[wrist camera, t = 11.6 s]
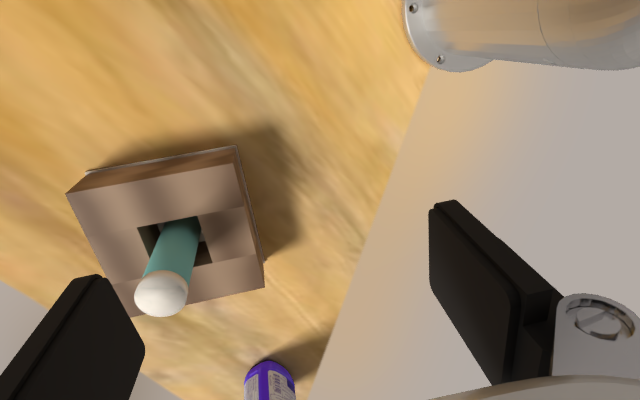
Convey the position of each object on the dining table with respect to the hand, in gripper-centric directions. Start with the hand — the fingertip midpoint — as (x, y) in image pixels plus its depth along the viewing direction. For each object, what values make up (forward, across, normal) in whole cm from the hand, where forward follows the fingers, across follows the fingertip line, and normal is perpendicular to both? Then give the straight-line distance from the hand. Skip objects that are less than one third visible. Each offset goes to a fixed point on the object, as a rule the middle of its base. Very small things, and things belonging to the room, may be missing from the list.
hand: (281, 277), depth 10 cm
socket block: (+26, +12, +10) cm, 31 cm away
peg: (+26, +11, +10) cm, 30 cm away
